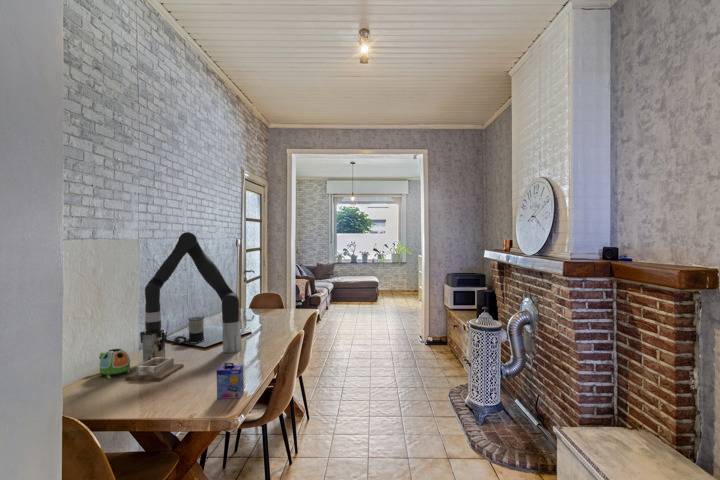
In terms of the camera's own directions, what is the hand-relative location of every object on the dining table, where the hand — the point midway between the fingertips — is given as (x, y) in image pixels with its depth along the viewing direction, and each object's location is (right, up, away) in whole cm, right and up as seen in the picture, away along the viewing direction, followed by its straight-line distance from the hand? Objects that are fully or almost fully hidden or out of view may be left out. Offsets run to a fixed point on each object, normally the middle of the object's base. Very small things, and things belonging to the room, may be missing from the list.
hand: (153, 350), depth 200 cm
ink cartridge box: (+57, -6, -44) cm, 72 cm away
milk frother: (+3, -5, +36) cm, 36 cm away
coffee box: (0, -6, 0) cm, 6 cm away
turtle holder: (-11, -7, -17) cm, 21 cm away
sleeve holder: (+10, -6, -17) cm, 21 cm away
